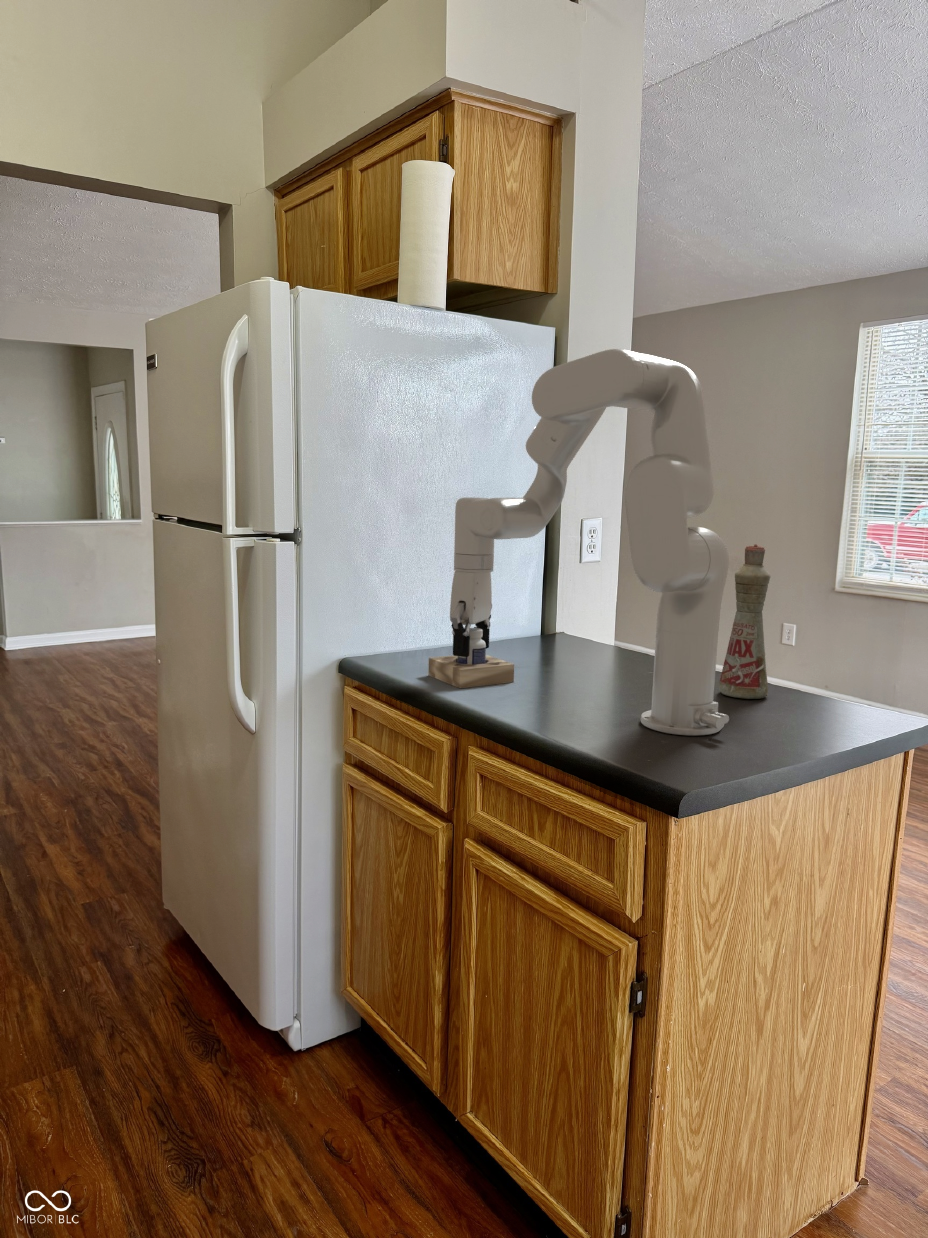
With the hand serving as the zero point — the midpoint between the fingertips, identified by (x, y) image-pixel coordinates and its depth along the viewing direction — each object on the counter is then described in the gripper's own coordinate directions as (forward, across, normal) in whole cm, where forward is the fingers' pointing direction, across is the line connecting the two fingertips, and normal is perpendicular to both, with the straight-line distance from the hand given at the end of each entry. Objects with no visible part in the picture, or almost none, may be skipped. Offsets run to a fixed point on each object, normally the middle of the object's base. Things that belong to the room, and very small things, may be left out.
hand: (471, 651), depth 170 cm
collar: (+5, 0, 0) cm, 5 cm away
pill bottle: (+5, 0, 0) cm, 5 cm away
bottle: (+5, -13, +49) cm, 51 cm away
